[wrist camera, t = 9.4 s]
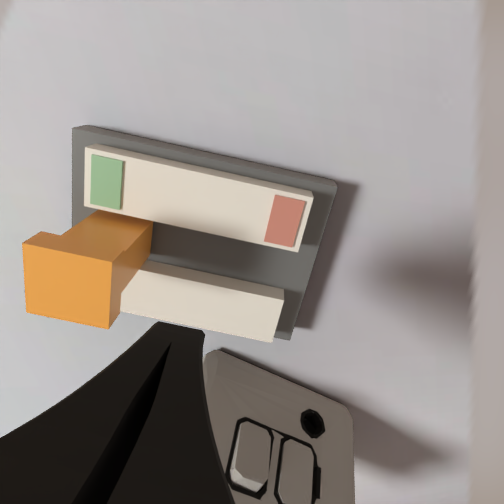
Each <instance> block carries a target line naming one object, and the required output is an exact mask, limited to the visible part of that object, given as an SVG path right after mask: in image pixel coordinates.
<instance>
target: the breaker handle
mask: <svg viewBox="0 0 504 504" xmlns="http://www.w3.org/2000/svg"><path fill="white" fill-rule="evenodd" d="M152 231H153V221H150V220H146V219H141V218H137V217H132V216H127V215H123V214H118V213H114V212H109V211H104V210H100V209H98V210H97V211H95V212H94V213H92V214H91V215H89V216H88V217H87V218H85V219H84V220H82V221H81V222H79V223H78V224H77V225H75V226H74V227H72V228H71V229H69V230H68V231H66V232H65V233H64V234H62V235H61V236H60V235H56V234H51V233H46V232H42V231H41V232H39V233H38V234H36V235H34V236H33V237H31V238H30V239H28V240H26V241H25V242H23V243H22V248H23V265H24V282H25V298H26V312H27V313H32V314H37V315H41V316H46V317H51V318H56V319H61V320H66V321H70V322H75V323H80V324H85V325H90V326H95V327H99V328H104V329H109V328H110V327H111V325H112V324H113V322H114V321H115V319H116V318H117V316H118V315H119V314H120V305H121V293H122V292H123V290H124V289H125V288H126V286H127V285H128V284H129V282H130V281H131V280H132V278H133V277H134V276H135V274H136V273H137V272H138V270H139V269H140V268H141V266H142V265H143V264H144V262H145V261H146V260H147V258H148V257H149V256H150V250H151V240H152Z"/></svg>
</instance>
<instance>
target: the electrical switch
mask: <svg viewBox="0 0 504 504" xmlns="http://www.w3.org/2000/svg"><path fill="white" fill-rule="evenodd" d="M203 375H204V384H205V393H206V399H207V405H208V410H209V416H210V421H211V425H212V430H213V434H214V438H215V442H216V445H217V449H218V453H219V456H220V460H221V463H222V466H223V469H224V473H225V476H226V479H227V482H228V485H229V487H230V490H231V493H232V496H233V498H234V501H235V504H355V486H354V443H353V418H352V416H351V414H350V412H349V411H348V409H347V408H346V407H345V406H344V405H342V404H340V403H338V402H336V401H333V400H331V399H329V398H327V397H324V396H322V395H320V394H317V393H315V392H313V391H311V390H308V389H306V388H304V387H302V386H299V385H297V384H295V383H292V382H290V381H288V380H286V379H283V378H281V377H279V376H277V375H274V374H272V373H270V372H267V371H265V370H263V369H261V368H258V367H256V366H254V365H252V364H249V363H247V362H245V361H242V360H240V359H238V358H236V357H233V356H231V355H229V354H227V353H224V352H222V351H220V350H213V351H211V352H209V353H207V354H206V355H205V356H204V357H203Z"/></svg>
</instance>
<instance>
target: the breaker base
mask: <svg viewBox="0 0 504 504" xmlns="http://www.w3.org/2000/svg"><path fill="white" fill-rule="evenodd" d="M337 188H338V187H337V185H336V183H335V181H334V180H330V179H326V178H321V177H317V176H313V175H308V174H304V173H299V172H295V171H290V170H286V169H281V168H277V167H272V166H268V165H263V164H259V163H254V162H250V161H245V160H241V159H236V158H232V157H227V156H223V155H218V154H214V153H209V152H205V151H201V150H196V149H192V148H187V147H183V146H178V145H174V144H169V143H165V142H160V141H156V140H151V139H147V138H142V137H138V136H133V135H129V134H124V133H120V132H115V131H111V130H106V129H102V128H97V127H93V126H89V125H84V126H79V127H74V128H72V227H74V226H75V225H77V224H78V223H79V222H81V221H82V220H84V219H85V218H87V217H88V216H89V215H91V214H92V213H94V212H95V211H97V210H98V209H100V210H104V211H109V212H114V213H118V214H123V215H127V216H132V217H137V218H141V219H146V220H150V221H153V231H152V240H151V250H150V256H149V257H148V258H147V260H146V261H145V262H144V264H143V265H142V266H141V268H140V269H139V270H138V272H137V273H136V274H135V276H134V277H133V278H132V280H131V281H130V282H129V284H128V285H127V286H126V288H125V289H124V290H123V292H122V293H121V305H120V311H121V312H126V313H131V314H136V315H141V316H145V317H150V318H155V319H160V320H164V321H169V322H174V323H179V324H184V325H188V326H193V327H198V328H203V329H208V330H212V331H217V332H222V333H227V334H231V335H236V336H241V337H246V338H251V339H255V340H260V341H265V342H270V343H272V341H273V337H275V338H280V339H284V340H289V341H290V339H291V335H292V332H293V329H294V326H295V323H296V319H297V316H298V313H299V310H300V307H301V303H302V300H303V297H304V294H305V291H306V287H307V284H308V281H309V278H310V275H311V271H312V268H313V265H314V262H315V259H316V255H317V252H318V249H319V246H320V243H321V239H322V236H323V233H324V230H325V227H326V223H327V220H328V217H329V214H330V211H331V207H332V204H333V201H334V198H335V195H336V191H337Z"/></svg>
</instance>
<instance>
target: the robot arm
mask: <svg viewBox="0 0 504 504" xmlns="http://www.w3.org/2000/svg"><path fill="white" fill-rule="evenodd" d="M204 338H205V334H204V333H203V331H202V330H198V329H193V328H188V327H183V326H178V325H174V324H169V323H164V322H157V323H155V324H154V325H153V326H152V327H151V328H150V329H149V330H148V331H147V332H146V333H145V334H144V335H143V336H142V337H141V338H140V339H138V340H137V341H136V342H135V343H134V344H133V345H132V346H131V347H130V348H129V349H127V350H126V351H125V352H124V353H123V354H122V355H120V356H119V357H118V358H117V359H116V360H114V361H113V362H112V363H111V364H110V365H109V366H107V367H106V368H105V369H104V370H102V371H101V372H100V373H98V374H97V375H96V376H94V377H93V378H92V379H91V380H89V381H88V382H87V383H85V384H84V385H83V386H81V387H80V388H79V389H77V390H76V391H74V392H73V393H72V394H70V395H69V396H67V397H66V398H64V399H63V400H61V401H60V402H59V403H57V404H56V405H54V406H52V407H51V408H49V409H48V410H46V411H45V412H43V413H42V414H40V415H38V416H37V417H35V418H34V419H32V420H30V421H28V422H27V423H25V424H23V425H22V426H20V427H18V428H17V429H15V430H13V431H11V432H10V433H8V434H6V435H5V436H3V437H1V438H0V504H235V501H234V498H233V496H232V493H231V490H230V487H229V485H228V482H227V479H226V476H225V473H224V469H223V466H222V463H221V460H220V456H219V453H218V449H217V445H216V442H215V438H214V434H213V430H212V425H211V421H210V416H209V410H208V405H207V399H206V393H205V384H204V375H203V343H204Z"/></svg>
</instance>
